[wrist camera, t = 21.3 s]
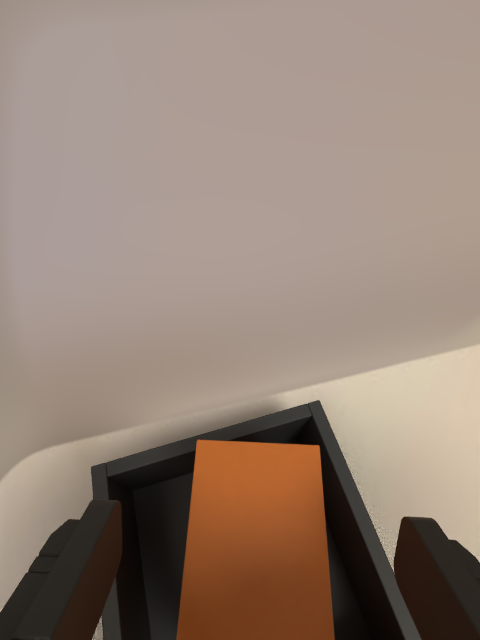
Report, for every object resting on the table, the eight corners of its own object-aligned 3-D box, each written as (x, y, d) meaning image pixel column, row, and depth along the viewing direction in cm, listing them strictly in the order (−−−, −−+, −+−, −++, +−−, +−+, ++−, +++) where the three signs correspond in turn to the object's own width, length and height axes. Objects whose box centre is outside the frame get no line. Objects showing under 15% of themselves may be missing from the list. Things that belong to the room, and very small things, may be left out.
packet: (196, 657, 20) (161, 781, 10) (210, 481, 24) (196, 439, 14) (286, 662, 20) (346, 790, 10) (282, 485, 24) (319, 445, 14)
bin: (154, 761, 18) (118, 863, 12) (122, 483, 25) (90, 466, 19) (388, 656, 20) (449, 701, 15) (300, 429, 27) (319, 399, 22)
